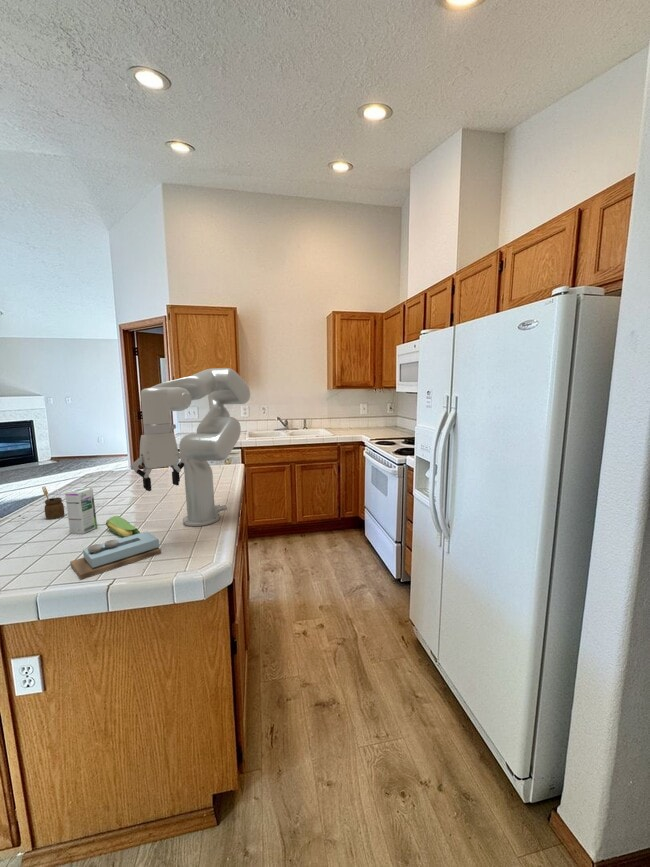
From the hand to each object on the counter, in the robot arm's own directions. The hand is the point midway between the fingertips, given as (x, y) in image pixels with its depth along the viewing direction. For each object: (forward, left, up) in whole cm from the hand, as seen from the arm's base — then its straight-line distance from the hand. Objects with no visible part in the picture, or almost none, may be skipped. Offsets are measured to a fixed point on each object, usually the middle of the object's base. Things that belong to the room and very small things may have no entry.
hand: (162, 487), depth 111 cm
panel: (+13, 0, -16) cm, 20 cm away
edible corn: (+7, -19, -18) cm, 27 cm away
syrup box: (+15, -33, -18) cm, 40 cm away
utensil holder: (+19, -58, -18) cm, 64 cm away
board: (+14, 0, -18) cm, 23 cm away
